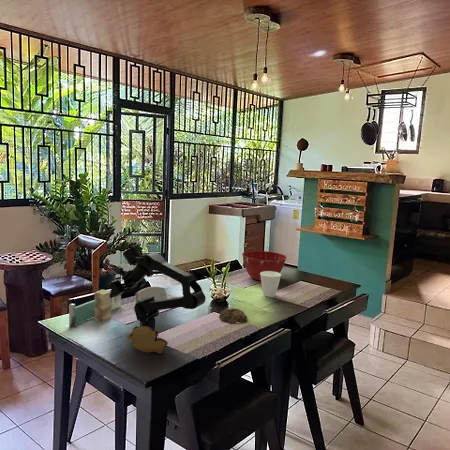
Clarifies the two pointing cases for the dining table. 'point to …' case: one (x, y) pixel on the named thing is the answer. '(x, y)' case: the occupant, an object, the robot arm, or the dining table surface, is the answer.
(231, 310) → the brown dome mound
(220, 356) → the dining table surface
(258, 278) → the mixing bowl
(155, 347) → the wooden carving
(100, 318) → the block
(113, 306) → the frame
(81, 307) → the green upright panel
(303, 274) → the dining table surface
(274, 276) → the cup
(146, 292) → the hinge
